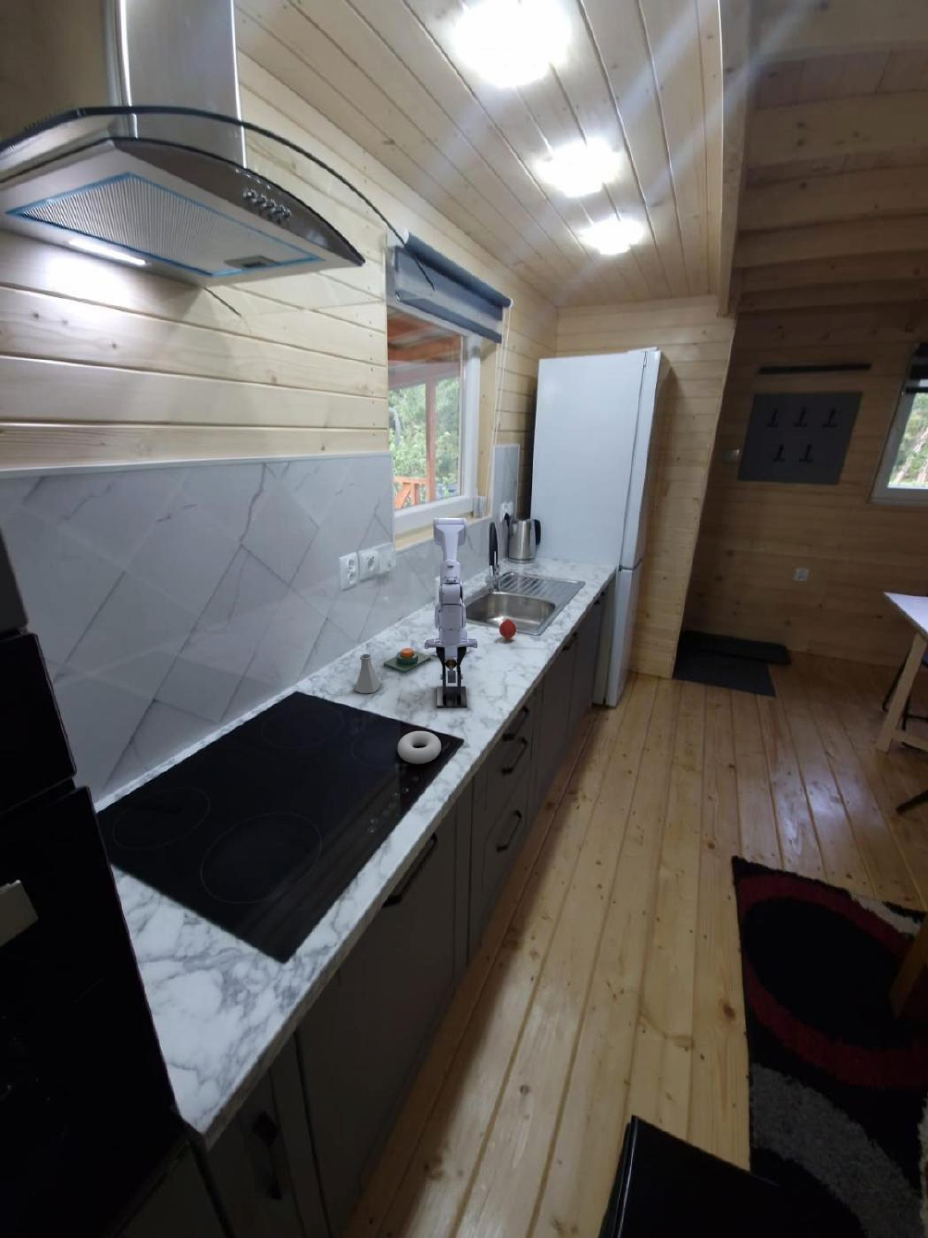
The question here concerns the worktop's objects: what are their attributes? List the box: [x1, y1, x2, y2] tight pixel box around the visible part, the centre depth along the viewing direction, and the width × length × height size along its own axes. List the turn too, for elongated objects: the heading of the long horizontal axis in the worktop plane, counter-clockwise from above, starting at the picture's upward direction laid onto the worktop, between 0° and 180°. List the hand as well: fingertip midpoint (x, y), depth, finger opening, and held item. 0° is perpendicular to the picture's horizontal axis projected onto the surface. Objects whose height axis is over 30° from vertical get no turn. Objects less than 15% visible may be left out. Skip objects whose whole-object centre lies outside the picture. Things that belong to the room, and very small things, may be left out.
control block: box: [383, 650, 431, 674], centre depth 154 cm, size 12×9×3 cm
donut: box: [397, 730, 442, 765], centre depth 113 cm, size 10×4×10 cm
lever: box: [445, 658, 457, 684], centre depth 136 cm, size 11×3×3 cm, turn 3°
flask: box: [354, 653, 381, 694], centre depth 139 cm, size 7×7×10 cm
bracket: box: [436, 666, 468, 709], centre depth 133 cm, size 10×8×9 cm
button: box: [400, 647, 414, 658], centre depth 153 cm, size 4×4×2 cm
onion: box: [498, 618, 517, 641], centre depth 170 cm, size 6×6×8 cm
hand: (451, 670), depth 140 cm, fingers closed on lever, 3 cm apart
